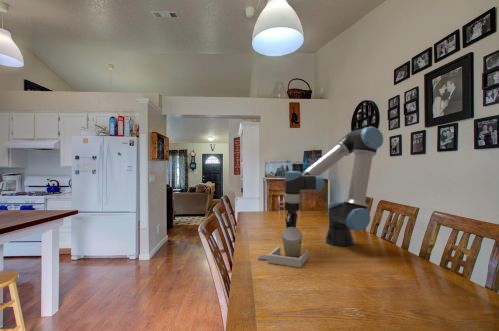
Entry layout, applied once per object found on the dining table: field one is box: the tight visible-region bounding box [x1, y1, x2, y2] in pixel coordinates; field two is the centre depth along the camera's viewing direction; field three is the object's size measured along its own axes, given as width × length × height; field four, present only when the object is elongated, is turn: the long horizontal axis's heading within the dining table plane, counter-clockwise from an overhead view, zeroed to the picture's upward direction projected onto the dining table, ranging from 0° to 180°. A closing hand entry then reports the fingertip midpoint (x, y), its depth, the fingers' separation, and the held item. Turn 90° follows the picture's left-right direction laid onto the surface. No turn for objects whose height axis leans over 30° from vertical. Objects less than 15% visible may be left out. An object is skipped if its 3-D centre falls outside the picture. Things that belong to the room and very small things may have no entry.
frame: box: [267, 246, 309, 268], centre depth 127 cm, size 15×15×4 cm
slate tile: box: [257, 255, 268, 262], centre depth 129 cm, size 5×5×1 cm
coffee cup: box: [281, 227, 303, 258], centre depth 130 cm, size 9×9×12 cm
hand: (290, 248), depth 138 cm, fingers closed
